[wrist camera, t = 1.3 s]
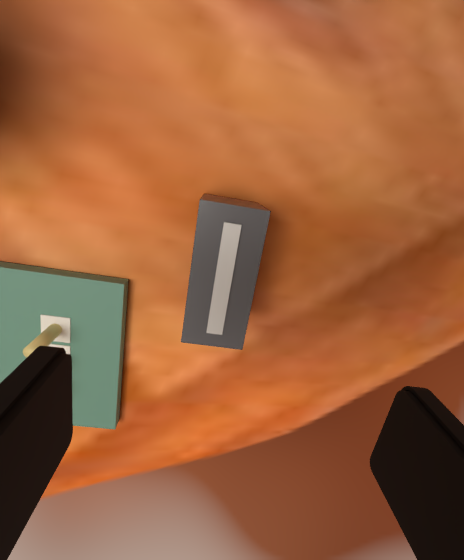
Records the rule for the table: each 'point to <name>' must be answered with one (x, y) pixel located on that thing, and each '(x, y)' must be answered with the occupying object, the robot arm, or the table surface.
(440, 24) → the table surface
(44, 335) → the board
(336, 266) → the table surface
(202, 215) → the block
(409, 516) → the robot arm
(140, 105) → the table surface
